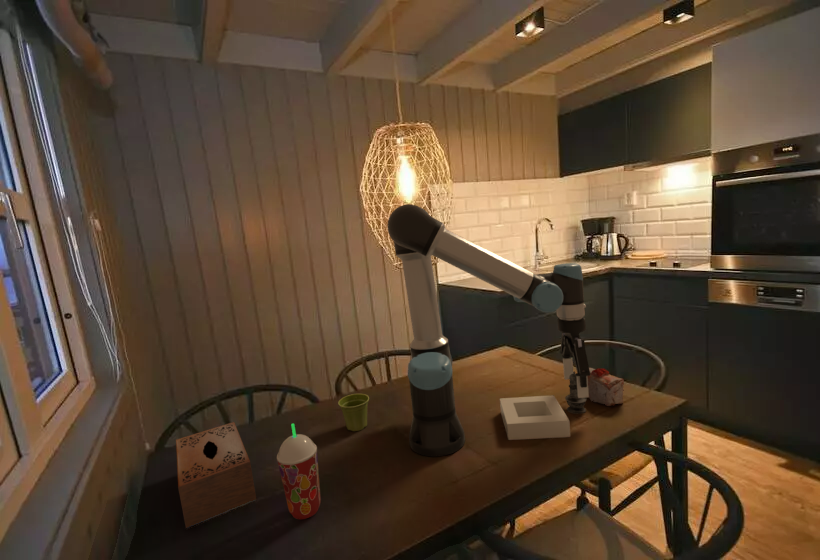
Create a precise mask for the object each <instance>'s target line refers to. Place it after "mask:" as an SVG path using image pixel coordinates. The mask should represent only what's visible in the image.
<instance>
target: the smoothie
mask: <svg viewBox="0 0 820 560" xmlns="http://www.w3.org/2000/svg"><path fill="white" fill-rule="evenodd" d="M290 426H291V430H292V431H291V432H292V435H290V436H288V437H287V438H286V439H285V440H283V442H282V443H281V445H280V447H279V449H278V452H277V455H276V461H277V466H278V469H279V472H280V477H281V482H282V486H283V490H284V495H285V499H286V504H287V508H288V512H289V514H291V515H292V517H293V518H295V519H297V520H306V519H308V518H311V517H313V516H314V515H315V514H317V512H318V511H319V508H320V506H321V501H322V499H321V498H322V497H321V487H320V477H319V462H318V461H319V459H318V446H317V445H316V444H315V443H314V441H313V440H312V439H311V438H309V436H308V435H305V434H301V433H297V432H296V427H295V426H296V425H295V423H291V425H290Z"/></svg>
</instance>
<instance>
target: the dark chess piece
mask: <svg viewBox="0 0 820 560" xmlns="http://www.w3.org/2000/svg"><path fill="white" fill-rule="evenodd" d="M576 373H577V371H574V370H573V374H571V375H570V377H569V378H570V379H569V384H568V387H569V394H568V395H566V396H565V397H564V399H565V401H566V404H567V405H568V407H567V408H566V410H567V412H568V413H570V414H575V415H582V414H585V413H586V412H587V408H585V405H586V402H587V397H586V398H578V391H577V377H576V376H575V374H576Z"/></svg>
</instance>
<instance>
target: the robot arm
mask: <svg viewBox="0 0 820 560" xmlns="http://www.w3.org/2000/svg"><path fill="white" fill-rule="evenodd" d="M387 233H388V235H389V237H390V239H391V240H392V241H393V246H394V251H395V256H396V258H398V259H400V260H401V263H402V269H403V278H404V281H405V282H404V283H405V284H404V285H405V288H406V296H407V301H408V309H409V317H410V323H411V329H412V335H413V340H411V342H410V344H409V348H410V356H411V359H410V360H409V362H408V365H407V377H408V382H409V388H410V389H409V392H410V399H411V407H412V409H411V410H412V421H411V426H410V431H409V435H408V439H409V447H410V448H411V450H412V451H413V452H414V453H417V454H419V455H420V456H421V455H422V456H426V457H443V456H448V455H450V454H454V453H455V452H457V451H459V450H460V449H462V447H463V446H464V445H465V442H466V437H465V436H466V435H465V430H464V428H463V425H462V423H461V421H460V418H459V416H458V414H457V411H456V400H455V392H454V391H455V389H454V379H453V376H454V375H453V358H452V355H451V351H450V345H449V344H450V343H449V339H448V338H447V337H446V336H444V335H443V331H442V330H443V329H442V324H441V323H442V322H441V316H440V310H439V303H438V295H437V290H436V289H437V288H436V282H435V273H434V269H433V261H432V257H433V256H434V258H436V259H439V260H441V261H444V262H445V263H447V264H449V265H451V266H452V267H455V268H457V269H459V270H462V272H465V273H467V274H468V275H470V276H473V277H475V278H477V279H479V280H481V281H483V282H485V283H487V284H489V285H491V286H493V287H494V288H496V289H499V290H501V291H503V292H504V293H507V294H508V295H511V296H512V297H513V300H514V301H515V302H517V303H526V304H528V305H530V306H532V307H534V308H535V310H538V311H539V312H542V313H553V312H556V316H557V317H558V318H557V319H556V321H557V330H558V332H560V333H561V340H560V352H559V353H560V354H561V356H562V365H563V378H564V380H570V378H569V377H570V375H571V374H573V372H574V365H575V369H576V373H575V376H576V377H577V391H578V398H586V399H587V398H588V397H589V393H588V377H587V376H590V370H589V368H590V366H589V361H588V356H587V350H586V347H585V345H586V344H585V343H586V342H585V338H582V337H581V335H580V334H581V333H584V332H585V331H586V329H587V326H586V318H585V316H586V315H585V314H586V313H585V308H587V305H586V304H585V299H584V298H585V296H584V278H583V277H584V276H583V269H582V266H581V265H580V264H579V263H575V262H573V263H572V262H569V263H567V262H566V263H561V264H556V265H554V266H553V270H552V272H547V273H537V274H536V273H533V272H532V271H530V270H528V269H526V268H523V267H522V266H519V265H518V264H516V263H514V262H512V261H510V260H509V259H506V258H504V257H503V256H500V255H498V254H496V253H495V252H492V251H491V250H488V249H486V248H484V247H482V246H481V245H478V244H477V243H474V242H472V241H471V240H468V239H466V238H464V237H463V236H461V235H458V234H456V233H454V232H453V231H451V230H449V229H447V228H446V225H445V223H444V222H442V221H440V220H438V219H437V218H434V217H433V216H431V215H430V214H429V213H428V211H427V210H426V209H424V208H422V207H421V206H418V205H416V204H411V203H410V204H403V205H400V206H398V207H396V208H395V209H394V210H392V212H391V213H390V215H389V216H388V219H387ZM573 361H574V363H573Z"/></svg>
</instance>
